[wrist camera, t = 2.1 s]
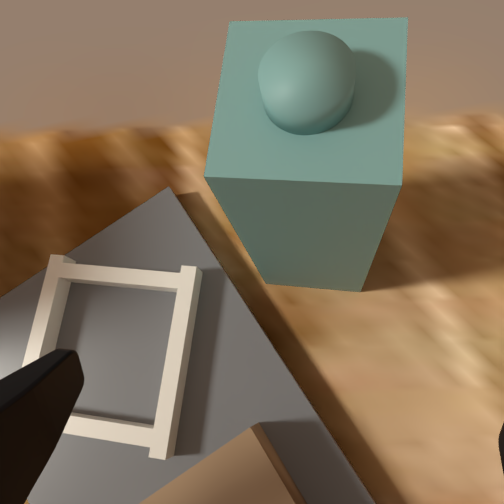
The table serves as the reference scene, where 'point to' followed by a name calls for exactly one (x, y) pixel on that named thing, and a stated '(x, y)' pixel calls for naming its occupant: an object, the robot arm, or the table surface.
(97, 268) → the baseboard
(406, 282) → the table surface
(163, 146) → the table surface
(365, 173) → the teal post
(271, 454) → the walnut base slab
